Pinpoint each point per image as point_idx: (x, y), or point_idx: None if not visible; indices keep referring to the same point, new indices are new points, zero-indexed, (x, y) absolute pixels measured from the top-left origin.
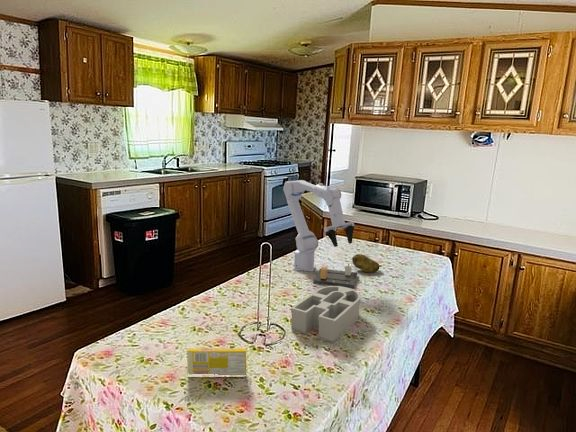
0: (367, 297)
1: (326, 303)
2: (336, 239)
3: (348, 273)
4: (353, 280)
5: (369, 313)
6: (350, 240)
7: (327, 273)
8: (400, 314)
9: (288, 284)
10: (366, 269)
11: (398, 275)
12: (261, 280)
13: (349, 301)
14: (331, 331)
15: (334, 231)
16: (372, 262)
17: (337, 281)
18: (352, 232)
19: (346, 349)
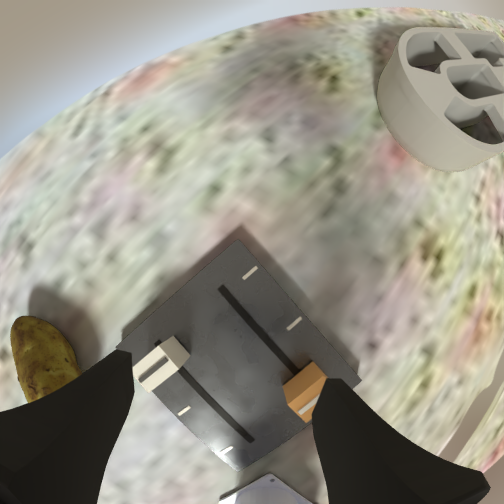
0: (257, 142)
1: (500, 77)
2: (362, 424)
3: (176, 344)
4: (198, 283)
5: (339, 68)
6: (119, 375)
7: (249, 416)
8: (260, 29)
9: (432, 399)
10: (65, 342)
11: (10, 249)
12: (462, 450)
13: (448, 40)
14: (487, 50)
15: (455, 492)
16: (25, 340)
17: (277, 314)
18: (31, 408)
19: None
